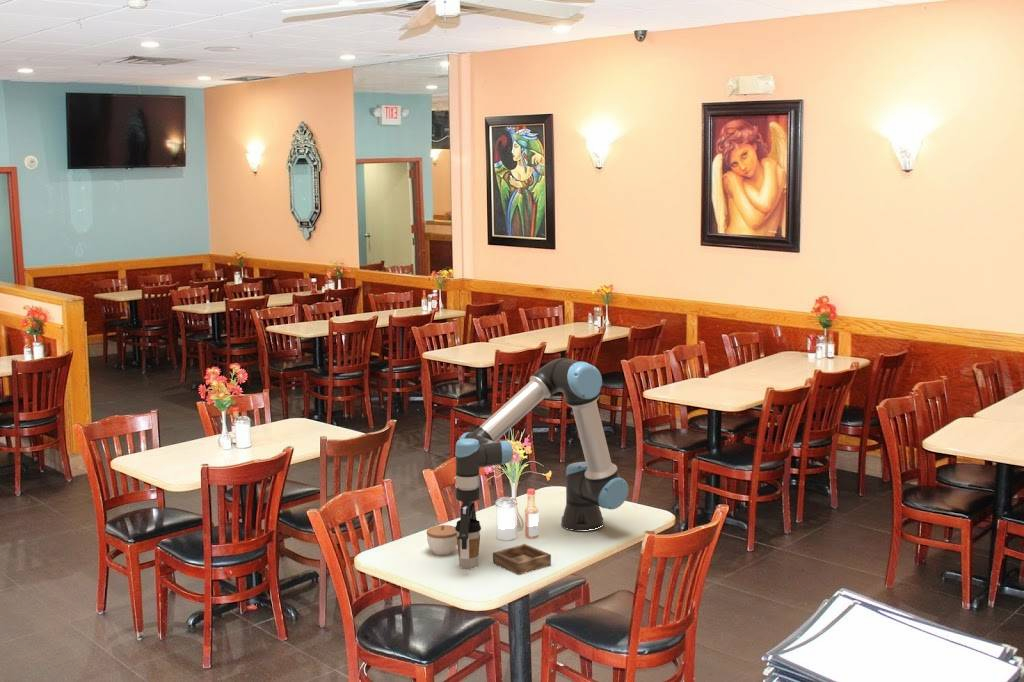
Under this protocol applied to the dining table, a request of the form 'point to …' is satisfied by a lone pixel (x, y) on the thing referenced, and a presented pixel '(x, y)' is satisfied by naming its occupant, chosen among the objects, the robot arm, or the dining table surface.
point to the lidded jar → (442, 539)
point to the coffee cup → (470, 544)
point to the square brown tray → (521, 559)
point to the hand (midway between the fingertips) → (468, 551)
